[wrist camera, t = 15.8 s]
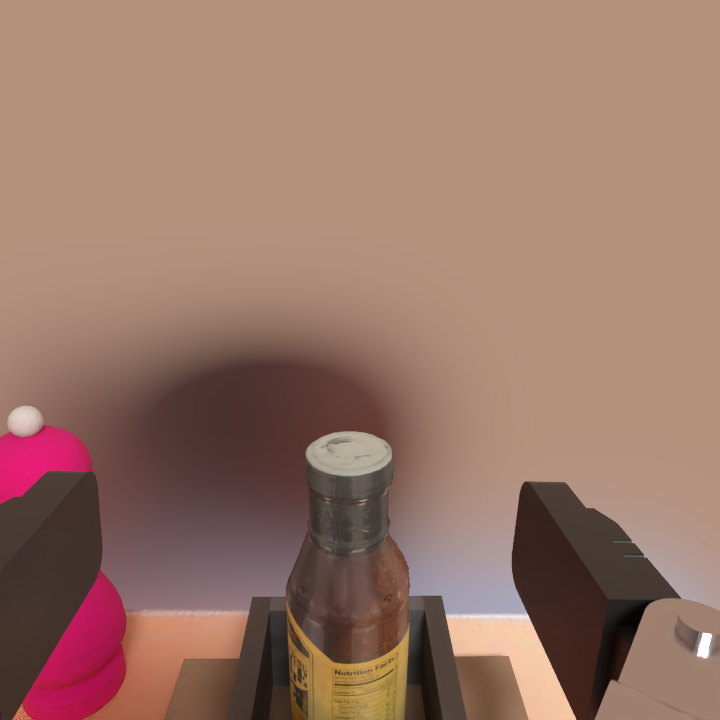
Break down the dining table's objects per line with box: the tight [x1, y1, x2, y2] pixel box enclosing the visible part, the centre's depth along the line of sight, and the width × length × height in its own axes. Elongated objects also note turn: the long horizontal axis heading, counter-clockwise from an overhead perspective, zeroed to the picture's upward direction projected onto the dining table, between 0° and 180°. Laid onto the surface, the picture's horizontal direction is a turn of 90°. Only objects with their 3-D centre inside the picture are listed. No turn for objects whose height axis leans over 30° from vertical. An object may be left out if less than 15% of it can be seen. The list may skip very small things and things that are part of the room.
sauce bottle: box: [286, 431, 410, 720], centre depth 31 cm, size 6×6×20 cm
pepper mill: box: [0, 406, 126, 720], centre depth 37 cm, size 7×7×20 cm
